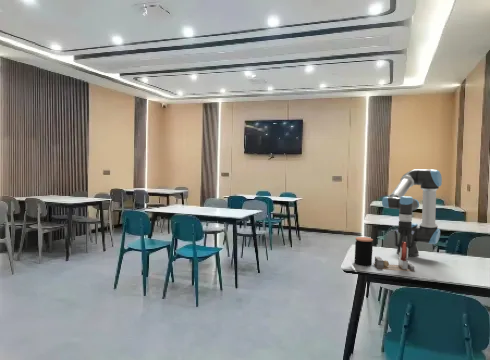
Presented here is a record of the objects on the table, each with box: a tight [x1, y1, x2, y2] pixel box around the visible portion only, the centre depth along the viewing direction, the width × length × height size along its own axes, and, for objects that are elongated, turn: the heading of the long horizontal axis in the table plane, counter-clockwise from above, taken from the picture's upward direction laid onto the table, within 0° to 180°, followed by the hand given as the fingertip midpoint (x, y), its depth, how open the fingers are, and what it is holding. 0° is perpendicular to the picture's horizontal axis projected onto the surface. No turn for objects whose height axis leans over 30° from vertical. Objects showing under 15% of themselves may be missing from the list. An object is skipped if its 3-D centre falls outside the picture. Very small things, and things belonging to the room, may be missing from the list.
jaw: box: [397, 242, 409, 269], centre depth 229 cm, size 9×3×16 cm, turn 173°
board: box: [372, 256, 416, 272], centre depth 230 cm, size 13×22×6 cm, turn 83°
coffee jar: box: [354, 236, 374, 267], centre depth 236 cm, size 11×11×18 cm
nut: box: [383, 260, 390, 267], centre depth 231 cm, size 4×4×4 cm
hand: (403, 257), depth 230 cm, fingers closed on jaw, 3 cm apart
